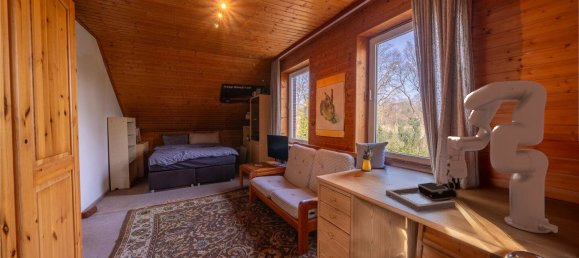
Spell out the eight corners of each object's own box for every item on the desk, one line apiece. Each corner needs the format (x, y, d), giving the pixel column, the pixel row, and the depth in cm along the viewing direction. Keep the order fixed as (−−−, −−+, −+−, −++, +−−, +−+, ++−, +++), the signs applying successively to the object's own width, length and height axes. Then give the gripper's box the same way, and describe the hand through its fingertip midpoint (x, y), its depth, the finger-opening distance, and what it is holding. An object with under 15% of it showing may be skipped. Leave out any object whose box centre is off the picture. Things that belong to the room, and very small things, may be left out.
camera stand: (454, 206, 108) (454, 201, 108) (418, 211, 104) (418, 206, 104) (416, 190, 134) (415, 186, 134) (385, 194, 130) (385, 190, 130)
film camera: (443, 191, 131) (463, 199, 116) (417, 195, 131) (433, 203, 116) (442, 178, 131) (461, 184, 116) (415, 181, 131) (431, 189, 116)
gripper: (450, 159, 118) (451, 192, 118) (473, 157, 120) (473, 189, 121) (438, 157, 125) (439, 188, 126) (460, 155, 128) (461, 185, 128)
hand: (456, 188), depth 123 cm, fingers closed
